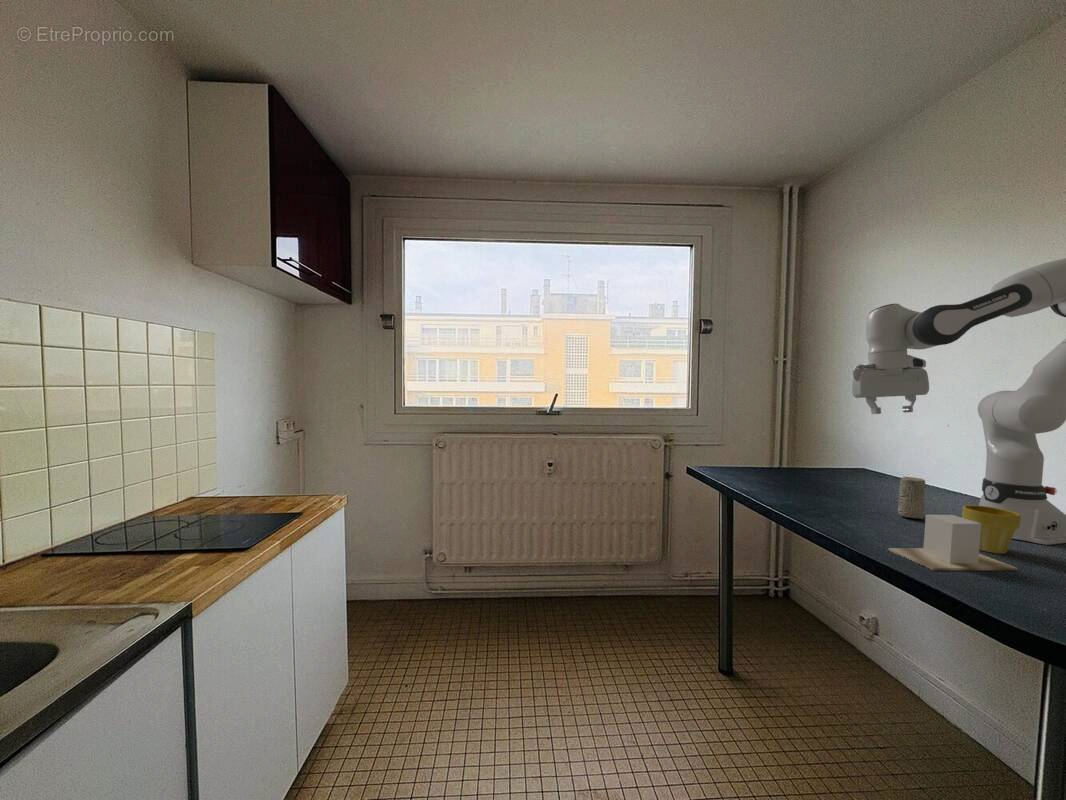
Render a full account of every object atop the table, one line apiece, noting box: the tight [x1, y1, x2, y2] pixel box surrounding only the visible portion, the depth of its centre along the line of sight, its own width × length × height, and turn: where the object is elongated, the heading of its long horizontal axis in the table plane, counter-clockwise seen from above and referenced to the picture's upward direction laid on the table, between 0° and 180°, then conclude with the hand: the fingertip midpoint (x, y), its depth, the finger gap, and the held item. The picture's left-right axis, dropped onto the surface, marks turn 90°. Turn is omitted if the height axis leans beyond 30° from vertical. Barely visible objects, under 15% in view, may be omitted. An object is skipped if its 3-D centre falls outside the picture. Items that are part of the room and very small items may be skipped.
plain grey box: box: [922, 514, 981, 563], centre depth 112 cm, size 7×7×9 cm
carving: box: [897, 476, 926, 520], centre depth 146 cm, size 6×8×12 cm
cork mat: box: [887, 547, 1019, 571], centre depth 112 cm, size 20×12×1 cm, turn 94°
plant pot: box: [961, 504, 1021, 555], centre depth 120 cm, size 10×10×10 cm
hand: (892, 413), depth 134 cm, fingers open, 8 cm apart
